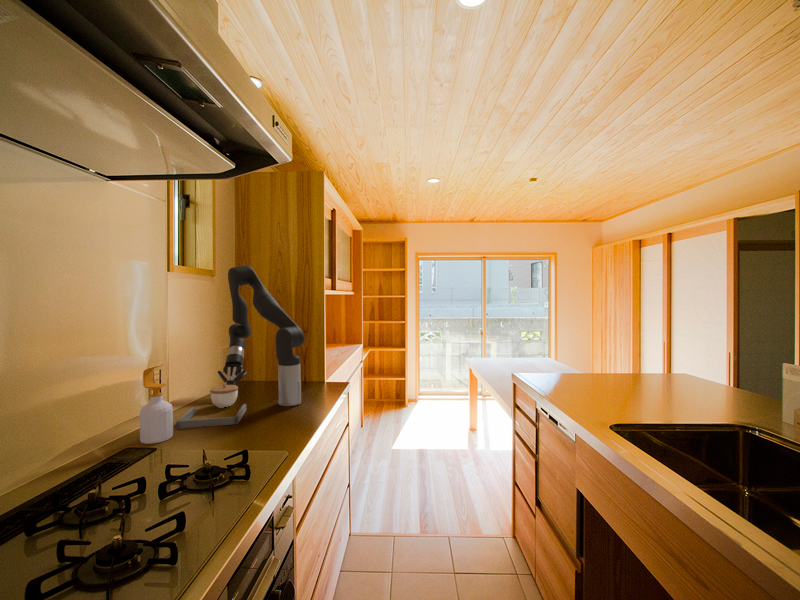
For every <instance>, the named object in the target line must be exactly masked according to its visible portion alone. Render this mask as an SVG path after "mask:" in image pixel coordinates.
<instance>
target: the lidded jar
mask: <svg viewBox="0 0 800 600" xmlns="http://www.w3.org/2000/svg"><path fill="white" fill-rule="evenodd" d="M226 384H227V383H223V384H222V385H217V386H214V387H213V386H212V387H211V388H210V390H209V392H210V399H211V402H212V404H213V405H214V406H215V407H216V408H217V407H218V409H225V408H224V407H227V408H229V407H228V406H230V407H232V406H233V404H234V403H235V402H236V401H237V398H238V396H239V394H238V393H239V386H238V385H236V384H234V385H226ZM231 405H232V406H231Z"/></svg>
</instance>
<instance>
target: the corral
mask: <svg viewBox="0 0 800 600" xmlns="http://www.w3.org/2000/svg"><path fill="white" fill-rule="evenodd" d="M246 412H247V403H243V404H242V405H241V406H240V408H239V410H238V411H237V412H236V414H235V415H234V416H224V417H223V416H221V417H211V418H210V417H209V418H207V417H206V418H197V419H196V418H194V419H192V417H193V416H194V415H195V414H196V407H194V406H192V407H190V409H189V410H187V411H186V412H184V414H182V416H181V417H180V418H178V419H177V420H176V421H175V425H176V426H175V427H176V428H175V429H176V430H177V428H180V429H190V428H192V429H193V428H202V427H203V428H204V426H205V427H217V426H229V425H231V426H232V425H238V424H239V422H240V421H241V420H242V418H243V416H244V414H245V413H246Z"/></svg>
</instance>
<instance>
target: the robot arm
mask: <svg viewBox="0 0 800 600" xmlns="http://www.w3.org/2000/svg"><path fill="white" fill-rule="evenodd" d="M227 280H228V285H229V292H230V298H231V305H232V322H234V323H233V324H231V325H230V326H229V327H228V335H229V346H228V351H227V353H226V359H225V364H224V367H223V368H222V369H221V370H217V375H218V376H219V377H220V379H221V380H222V381H223V383H225V384H226V385H235V383H239V382H240V381H241V380H242V378H244V377H245V376H246V375H247V374H248V372H247V370H246V369H244V368H243V365H244V358H245V347H246V341H245V340H244V339H248V338H249V337H250V336H251V334H252V329H251V326H250V323H249V319H248V318H249V317H248V315H249V314H248V313H249V308H248V304H247V302H246V300H245V299H244V298H243V296H242V295H241V294H240V287H242V286H243V287H244V286H247V285H248V286H250V287H251V288H252V290H253V295H252V305H253V307H254V308H255V310H256V312H258V314H259V316H261V317H262V318H263V319H265V320H267V321H268V322H270V323H271V324H274V325H275V326H277V327H278V328H279V329H278V330H277V332H276V334H275V353H276V359H277V363H278V366H277V367H278V374H277V375H278V378H277V379H278V381H277V382H278V405H279V406H283V407H292V406H297V405H301V403H302V379H301V378H302V377H301V374H302V373H301V357H300V356H299V355H295V354H294V352H293V349H294V348H299V347H301V346H302V345H303V344H304V343H305V340H306V339H305V334H304V332H303V329H302V328H301V327H300V326H299V325H298V324H297V323H296V322H295V321H294V320H292V318H291V317H290V316H289V315H288V314H287V313H286V311H285V310H284V309H283V307H281V305H279V303H278V301H277V300H276V299H275V297H273V295H272V294H271V293H270V292H269V291H268V290H267V288H266V286H265V285H264V284H263V283H262V281H261V279H260V278H259V276H258V274H257V273H256V271H255V270H254V268H253V267H251V266H250V265H248V264H247V265H246V264H245V265H240V266H234V267H233V266H232V267H230V268H229V269H228V271H227ZM225 375H226V376H227V377H226V376H225Z"/></svg>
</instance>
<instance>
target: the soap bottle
mask: <svg viewBox="0 0 800 600" xmlns="http://www.w3.org/2000/svg"><path fill="white" fill-rule="evenodd" d="M163 366H165V364H164V363H162V364H159V365H155V366H152V367H149V368H146V369H144V370H143V372H142V379H143V380H142V382H143V383H142V384H143V385H142V386H143V387H144V388H145V389H151V391H152V392H153V393H151V394H150V396H149V398H150V400H149V402H148V403H146V404H145V405H143V406H141V408H140V411H139V441H140V443H142V444H146V445H153V444H159V443H163V442H167V440H169V439H172V438H173V436H174V407H173V405H172V403H170V402H168V401H166V400H164V399H163V392H160V390H162V388H163V387H166V386H167V383H155V382H154V370H155V369H156V368H159V367H163Z"/></svg>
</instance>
